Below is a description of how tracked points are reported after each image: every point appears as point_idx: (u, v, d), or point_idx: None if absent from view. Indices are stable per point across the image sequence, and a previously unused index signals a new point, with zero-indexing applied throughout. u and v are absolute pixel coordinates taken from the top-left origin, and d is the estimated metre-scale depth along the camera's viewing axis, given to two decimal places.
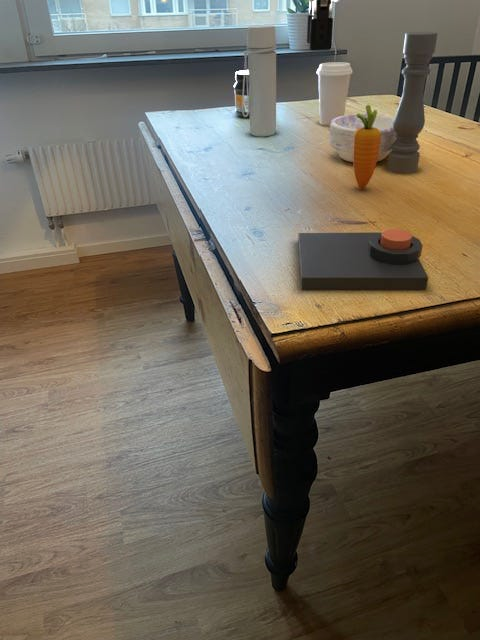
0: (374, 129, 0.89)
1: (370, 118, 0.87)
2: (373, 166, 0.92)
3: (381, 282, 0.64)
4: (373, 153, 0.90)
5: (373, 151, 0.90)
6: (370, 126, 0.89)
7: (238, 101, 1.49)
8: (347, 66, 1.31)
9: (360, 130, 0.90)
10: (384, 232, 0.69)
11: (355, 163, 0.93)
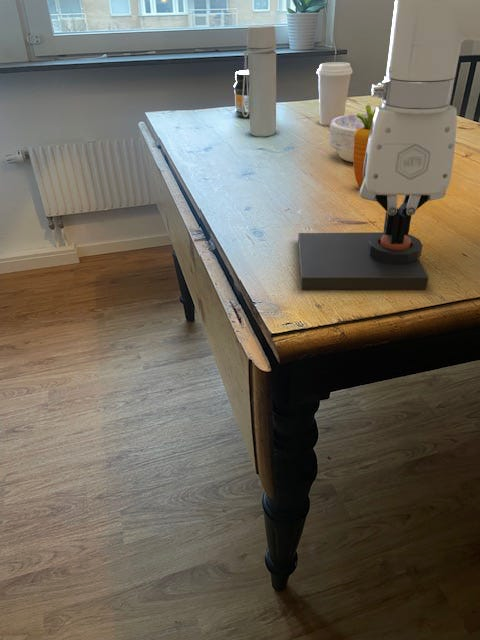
0: None
1: (370, 118, 0.87)
2: None
3: (381, 282, 0.64)
4: None
5: None
6: (370, 126, 0.89)
7: (238, 101, 1.49)
8: (347, 66, 1.31)
9: (360, 130, 0.90)
10: (383, 236, 0.69)
11: (355, 163, 0.93)
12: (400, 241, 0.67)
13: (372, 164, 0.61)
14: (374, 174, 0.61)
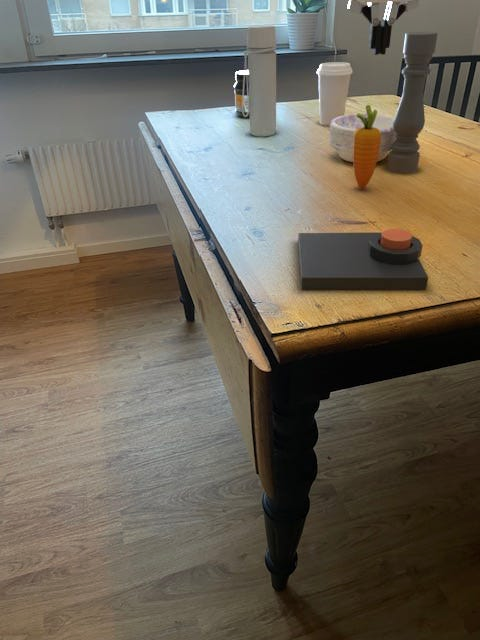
0: (374, 129, 0.89)
1: (370, 118, 0.87)
2: (373, 166, 0.92)
3: (381, 282, 0.64)
4: (373, 153, 0.90)
5: (373, 151, 0.90)
6: (370, 126, 0.89)
7: (238, 101, 1.49)
8: (347, 66, 1.31)
9: (360, 130, 0.90)
10: (384, 232, 0.69)
11: (355, 163, 0.93)
12: (383, 51, 0.79)
13: None
14: None
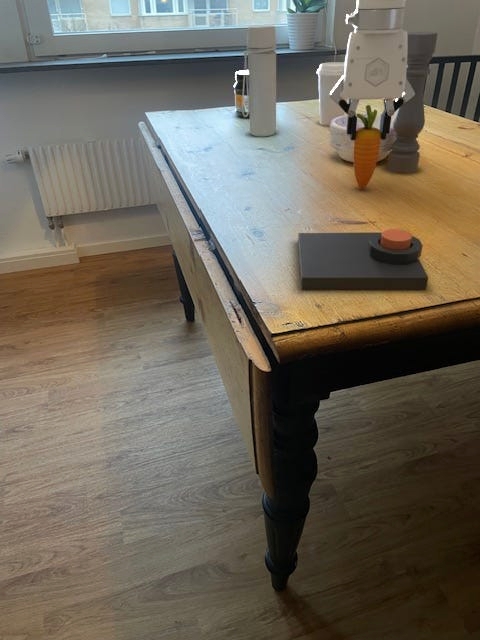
0: (374, 129, 0.89)
1: (370, 118, 0.87)
2: (373, 166, 0.92)
3: (381, 282, 0.64)
4: (373, 153, 0.90)
5: (373, 151, 0.90)
6: (370, 126, 0.89)
7: (238, 101, 1.49)
8: None
9: (360, 130, 0.90)
10: (384, 232, 0.69)
11: (355, 163, 0.93)
12: (383, 137, 0.89)
13: (347, 75, 0.83)
14: (349, 83, 0.84)
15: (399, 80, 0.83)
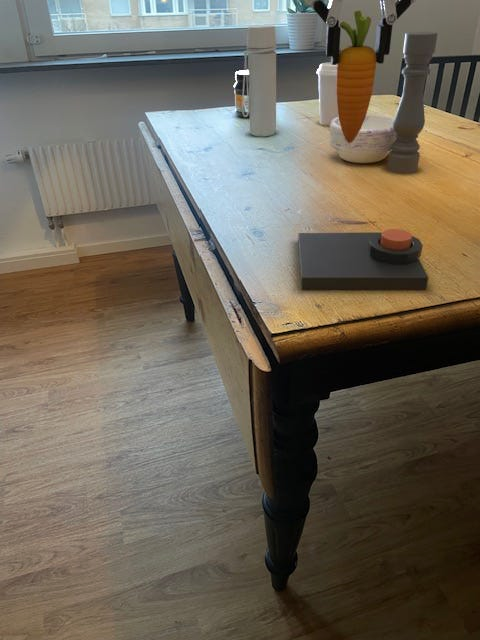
0: (367, 47, 0.60)
1: (360, 28, 0.58)
2: (365, 105, 0.63)
3: (381, 282, 0.64)
4: (364, 84, 0.61)
5: (366, 82, 0.61)
6: (361, 42, 0.60)
7: (238, 101, 1.49)
8: None
9: (346, 49, 0.60)
10: (384, 232, 0.69)
11: (339, 101, 0.63)
12: (380, 59, 0.60)
13: None
14: None
15: None
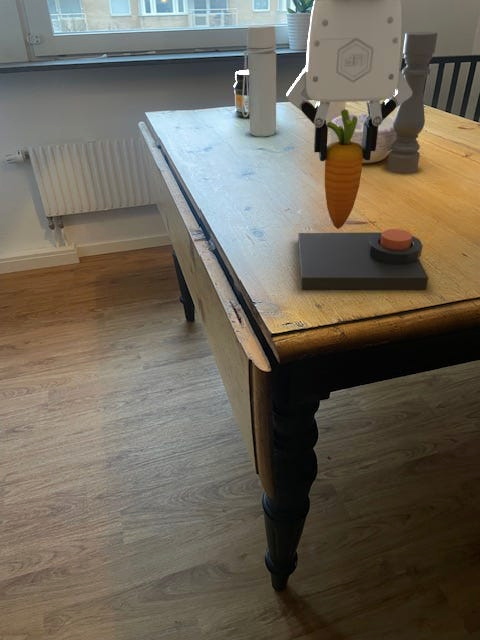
0: (353, 145, 0.61)
1: (347, 129, 0.59)
2: (353, 197, 0.64)
3: (381, 282, 0.64)
4: (352, 179, 0.62)
5: (353, 177, 0.62)
6: (347, 140, 0.61)
7: (238, 101, 1.49)
8: None
9: (333, 146, 0.61)
10: (384, 232, 0.69)
11: (327, 193, 0.64)
12: (367, 157, 0.61)
13: (311, 65, 0.55)
14: (313, 76, 0.55)
15: (389, 72, 0.55)
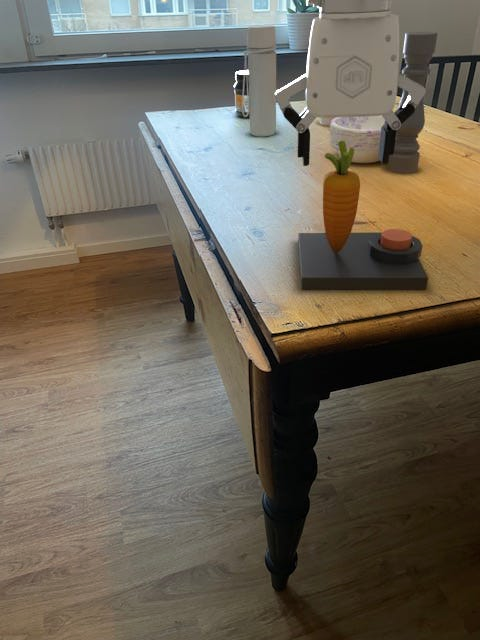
0: (350, 174, 0.63)
1: (344, 160, 0.61)
2: (350, 224, 0.66)
3: (381, 282, 0.64)
4: (349, 207, 0.64)
5: (350, 205, 0.64)
6: (345, 170, 0.63)
7: (238, 101, 1.49)
8: None
9: (331, 176, 0.63)
10: (384, 232, 0.69)
11: (325, 220, 0.66)
12: (385, 161, 0.61)
13: (310, 81, 0.56)
14: (313, 93, 0.56)
15: (387, 89, 0.56)
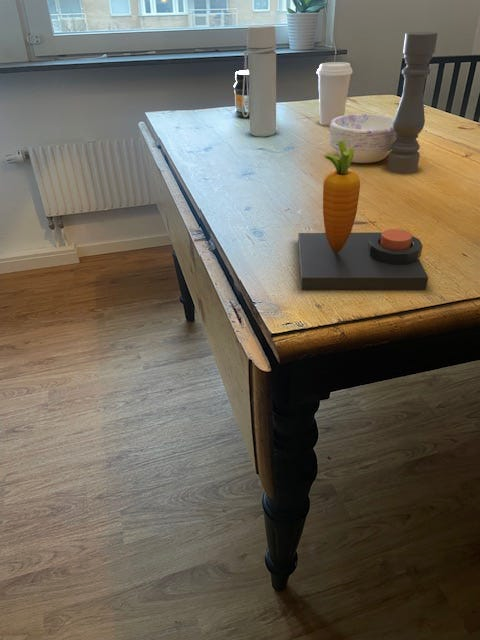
0: (350, 174, 0.63)
1: (344, 160, 0.61)
2: (350, 224, 0.66)
3: (381, 282, 0.64)
4: (349, 207, 0.64)
5: (350, 205, 0.64)
6: (345, 170, 0.63)
7: (238, 101, 1.49)
8: (347, 66, 1.31)
9: (331, 176, 0.63)
10: (384, 232, 0.69)
11: (325, 220, 0.66)
12: None
13: None
14: None
15: None
